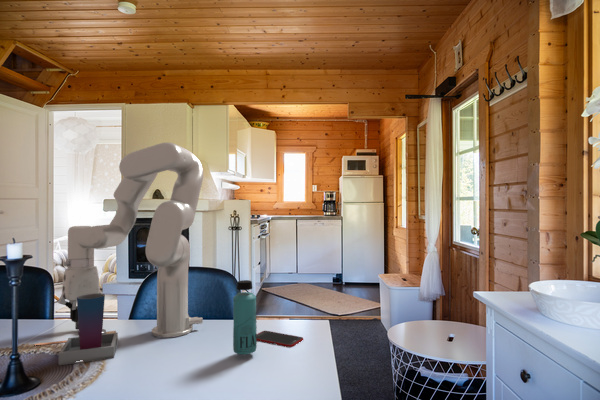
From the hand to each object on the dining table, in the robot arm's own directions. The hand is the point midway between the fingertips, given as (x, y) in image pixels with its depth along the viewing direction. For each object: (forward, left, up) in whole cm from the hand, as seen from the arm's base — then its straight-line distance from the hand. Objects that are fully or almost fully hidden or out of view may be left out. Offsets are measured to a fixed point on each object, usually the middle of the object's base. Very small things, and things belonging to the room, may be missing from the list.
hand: (80, 319), depth 124 cm
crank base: (-1, +10, -4) cm, 11 cm away
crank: (-3, +6, -3) cm, 7 cm away
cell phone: (-57, +32, -4) cm, 66 cm away
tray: (-6, +23, -4) cm, 24 cm away
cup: (-6, +23, -3) cm, 24 cm away
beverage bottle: (-45, +41, -4) cm, 61 cm away
